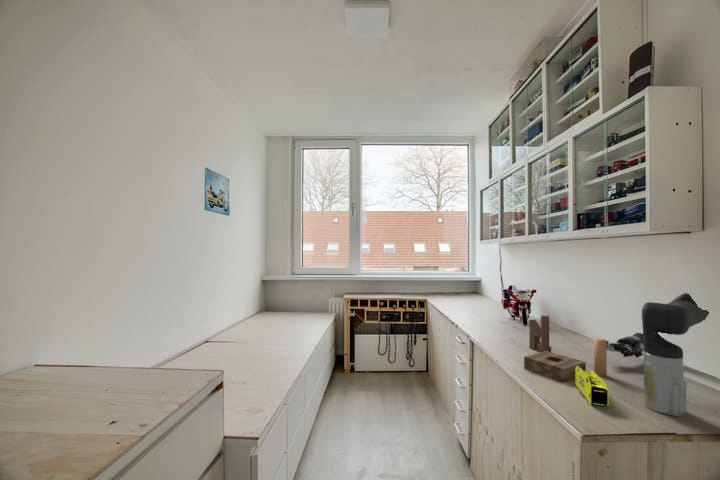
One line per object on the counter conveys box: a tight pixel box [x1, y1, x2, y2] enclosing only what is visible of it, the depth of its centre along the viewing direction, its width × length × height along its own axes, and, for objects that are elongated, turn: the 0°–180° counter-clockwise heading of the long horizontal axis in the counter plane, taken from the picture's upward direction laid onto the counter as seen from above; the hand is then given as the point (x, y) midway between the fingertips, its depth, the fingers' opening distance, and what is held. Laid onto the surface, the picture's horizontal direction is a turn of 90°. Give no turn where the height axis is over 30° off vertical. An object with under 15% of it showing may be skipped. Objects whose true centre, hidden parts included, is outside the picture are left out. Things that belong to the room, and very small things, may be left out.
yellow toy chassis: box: [574, 366, 610, 407], centre depth 113 cm, size 16×6×8 cm, turn 161°
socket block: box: [523, 351, 587, 383], centre depth 135 cm, size 16×16×5 cm
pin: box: [593, 338, 608, 378], centre depth 132 cm, size 4×4×14 cm
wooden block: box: [528, 314, 552, 353], centre depth 162 cm, size 4×11×18 cm, turn 12°
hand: (612, 351), depth 138 cm, fingers open, 8 cm apart
